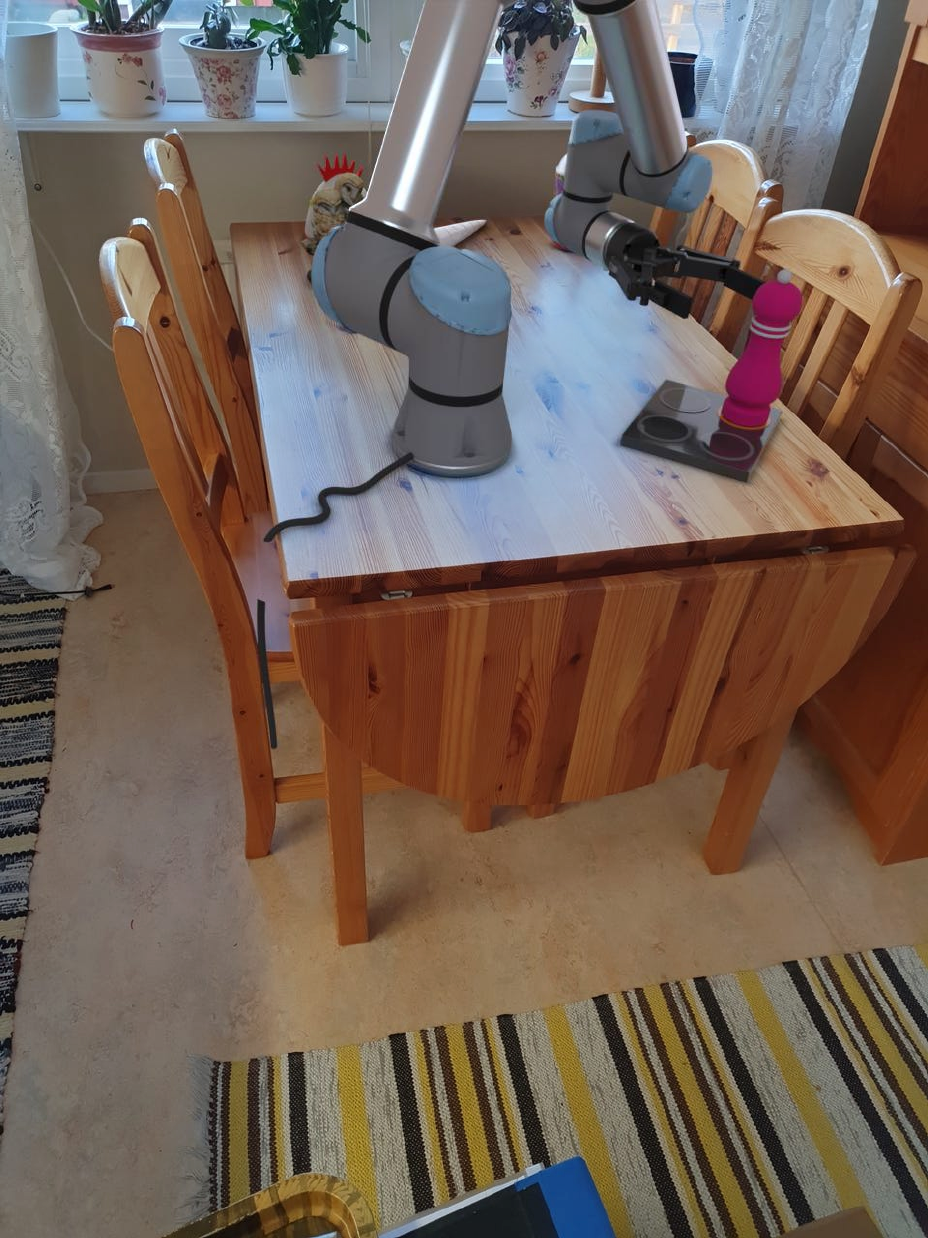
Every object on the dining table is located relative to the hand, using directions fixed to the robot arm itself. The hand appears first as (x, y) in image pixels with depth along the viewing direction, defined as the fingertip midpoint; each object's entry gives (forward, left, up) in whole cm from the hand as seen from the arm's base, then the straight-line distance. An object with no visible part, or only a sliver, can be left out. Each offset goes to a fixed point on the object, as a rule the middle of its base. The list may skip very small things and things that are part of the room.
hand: (726, 300), depth 122 cm
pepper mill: (-4, -7, -14) cm, 16 cm away
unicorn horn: (+37, +59, -15) cm, 72 cm away
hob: (-9, -3, -15) cm, 17 cm away
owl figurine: (+9, +64, -15) cm, 67 cm away
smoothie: (+48, +40, -15) cm, 65 cm away
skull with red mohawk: (+24, +76, -15) cm, 82 cm away
